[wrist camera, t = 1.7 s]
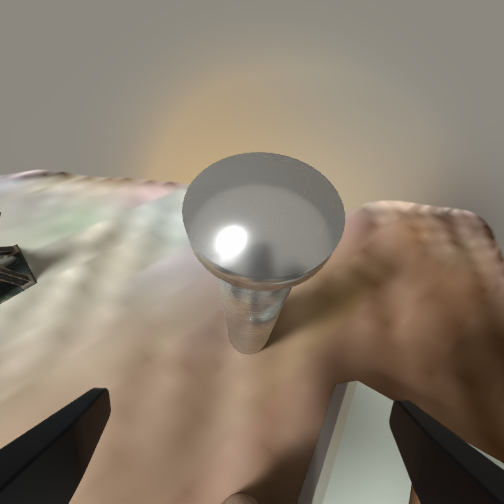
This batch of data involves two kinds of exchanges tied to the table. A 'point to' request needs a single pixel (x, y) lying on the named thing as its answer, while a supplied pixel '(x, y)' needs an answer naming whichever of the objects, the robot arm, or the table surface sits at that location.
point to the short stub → (240, 499)
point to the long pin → (261, 235)
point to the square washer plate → (358, 453)
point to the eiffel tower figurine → (13, 273)
